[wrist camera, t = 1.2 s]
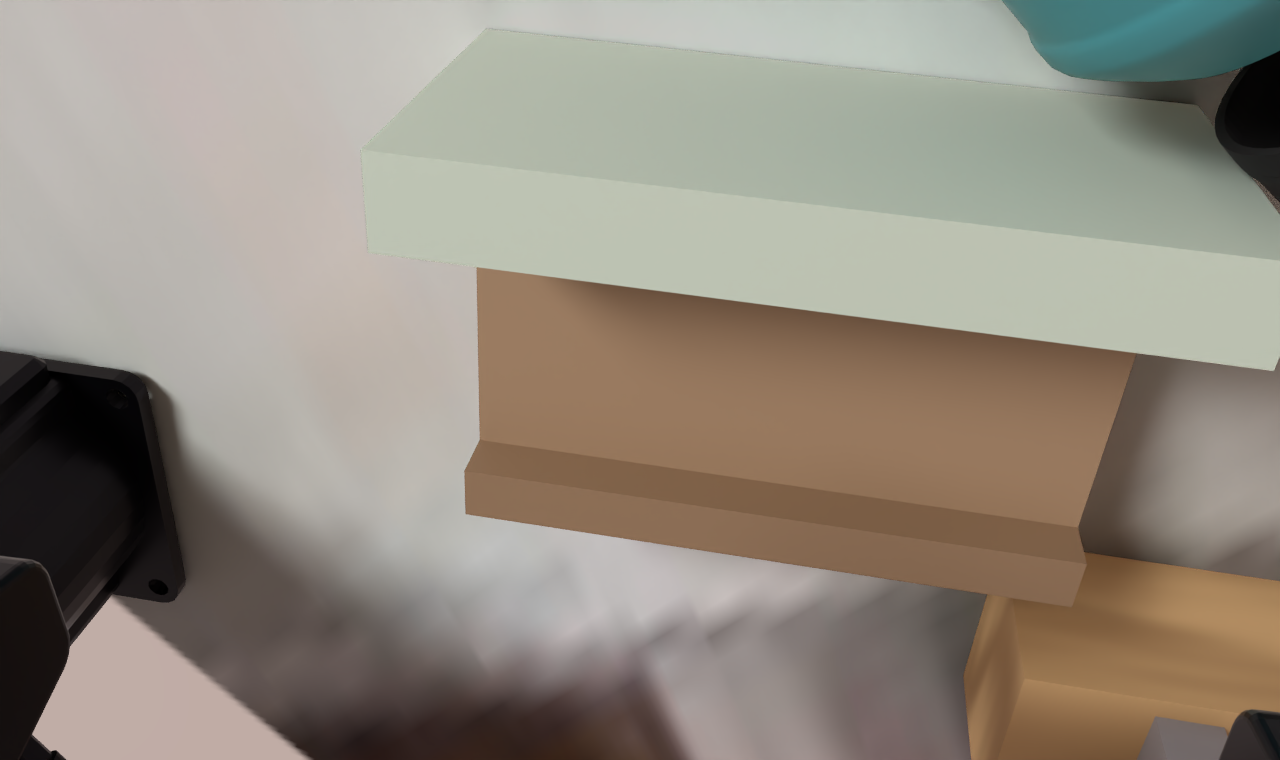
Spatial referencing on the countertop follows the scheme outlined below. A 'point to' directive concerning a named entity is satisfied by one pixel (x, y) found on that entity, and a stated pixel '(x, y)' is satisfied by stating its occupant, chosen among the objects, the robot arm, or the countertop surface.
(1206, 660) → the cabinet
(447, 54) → the countertop surface
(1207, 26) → the beverage bottle
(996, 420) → the wooden stand with panel
